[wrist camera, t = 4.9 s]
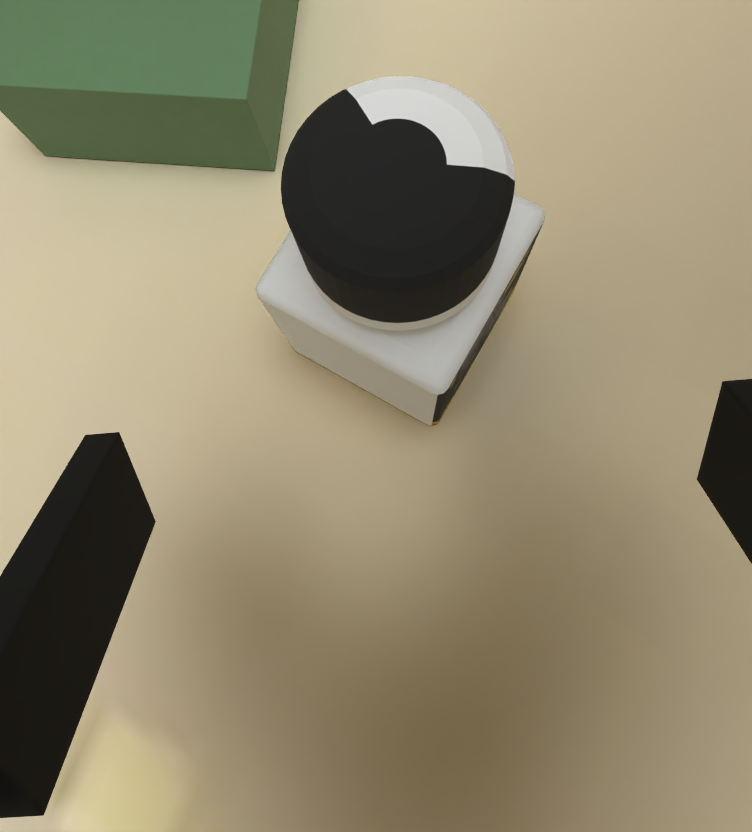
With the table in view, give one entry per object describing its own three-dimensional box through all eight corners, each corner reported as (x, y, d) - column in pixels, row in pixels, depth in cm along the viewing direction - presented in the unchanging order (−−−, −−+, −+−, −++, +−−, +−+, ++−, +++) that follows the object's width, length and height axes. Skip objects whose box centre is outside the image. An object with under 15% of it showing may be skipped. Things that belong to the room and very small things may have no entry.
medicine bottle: (434, 430, 27) (452, 355, 15) (290, 349, 27) (198, 218, 16) (515, 288, 27) (594, 109, 16) (373, 214, 28) (345, -7, 16)
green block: (304, -38, 31) (283, -144, 26) (274, 171, 29) (246, 99, 24) (86, -46, 32) (26, -152, 27) (45, 156, 30) (-28, 83, 25)
